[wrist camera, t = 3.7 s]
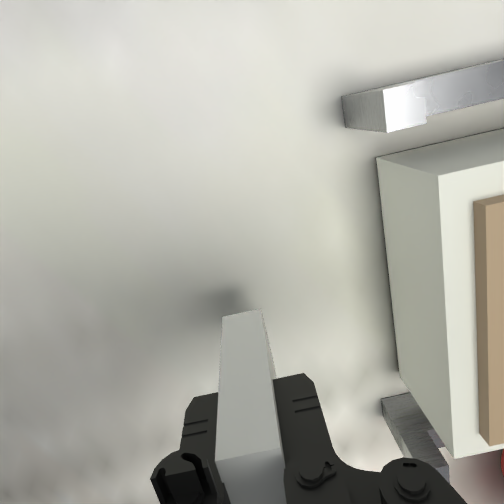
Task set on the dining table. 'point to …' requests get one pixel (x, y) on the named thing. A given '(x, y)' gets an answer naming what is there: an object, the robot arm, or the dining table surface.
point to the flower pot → (502, 462)
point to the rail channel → (400, 117)
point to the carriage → (449, 283)
